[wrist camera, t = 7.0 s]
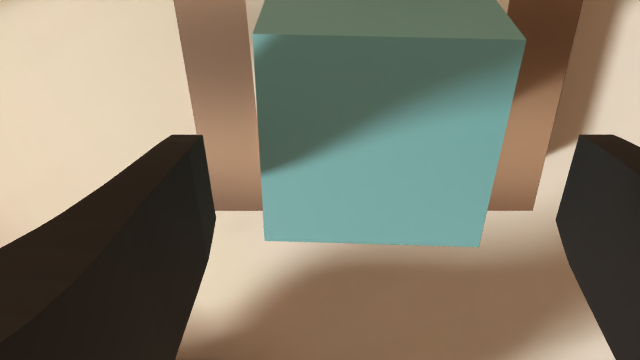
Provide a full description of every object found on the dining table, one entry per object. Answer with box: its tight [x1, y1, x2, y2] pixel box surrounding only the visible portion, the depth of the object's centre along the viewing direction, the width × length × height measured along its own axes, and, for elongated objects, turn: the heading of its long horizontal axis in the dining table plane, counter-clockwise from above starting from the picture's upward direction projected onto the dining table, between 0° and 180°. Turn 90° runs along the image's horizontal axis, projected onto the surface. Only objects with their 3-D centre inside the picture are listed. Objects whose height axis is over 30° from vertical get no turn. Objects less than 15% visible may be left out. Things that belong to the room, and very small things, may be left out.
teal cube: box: [252, 0, 526, 247], centre depth 14 cm, size 5×5×5 cm
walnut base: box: [174, 0, 583, 211], centre depth 17 cm, size 11×11×3 cm
